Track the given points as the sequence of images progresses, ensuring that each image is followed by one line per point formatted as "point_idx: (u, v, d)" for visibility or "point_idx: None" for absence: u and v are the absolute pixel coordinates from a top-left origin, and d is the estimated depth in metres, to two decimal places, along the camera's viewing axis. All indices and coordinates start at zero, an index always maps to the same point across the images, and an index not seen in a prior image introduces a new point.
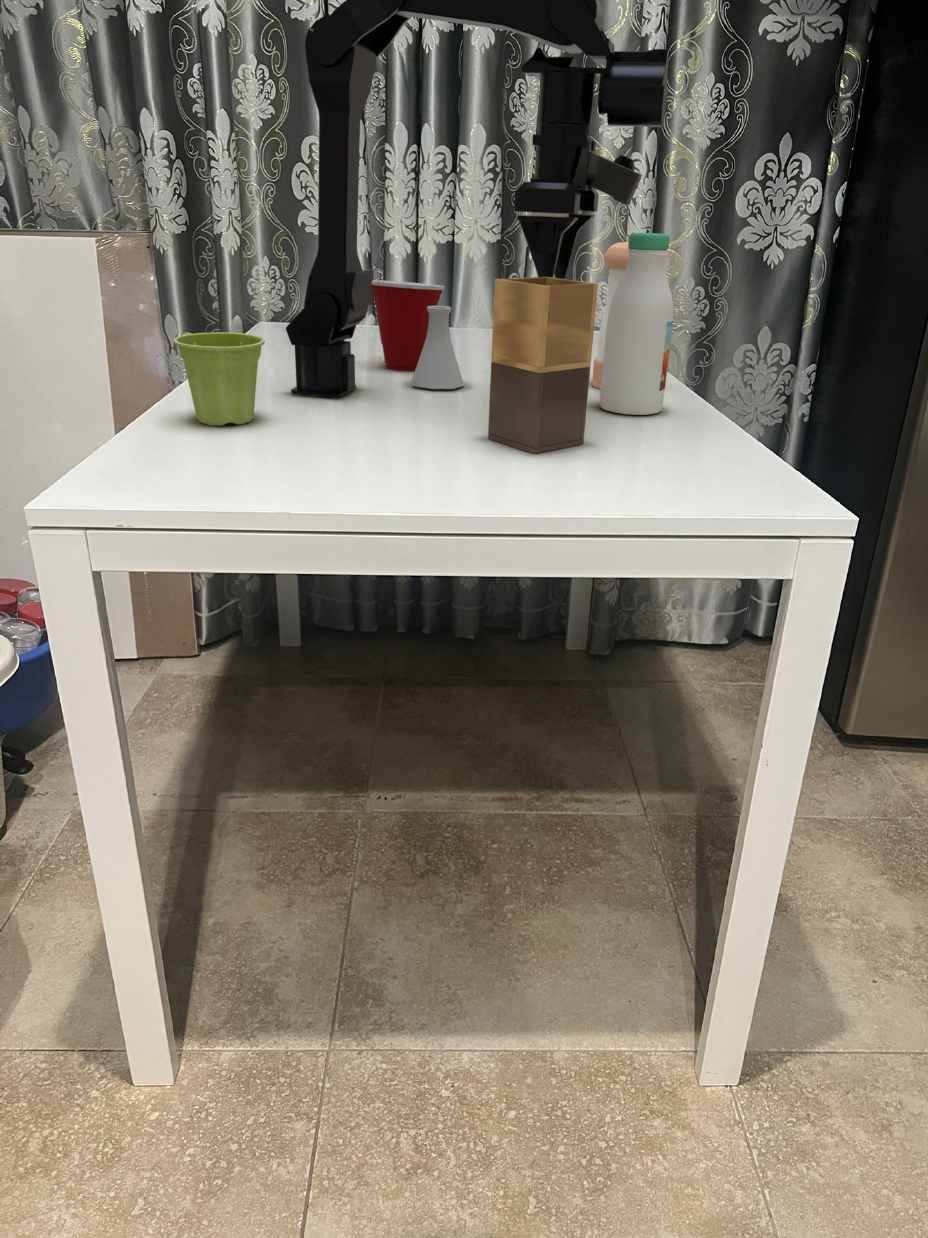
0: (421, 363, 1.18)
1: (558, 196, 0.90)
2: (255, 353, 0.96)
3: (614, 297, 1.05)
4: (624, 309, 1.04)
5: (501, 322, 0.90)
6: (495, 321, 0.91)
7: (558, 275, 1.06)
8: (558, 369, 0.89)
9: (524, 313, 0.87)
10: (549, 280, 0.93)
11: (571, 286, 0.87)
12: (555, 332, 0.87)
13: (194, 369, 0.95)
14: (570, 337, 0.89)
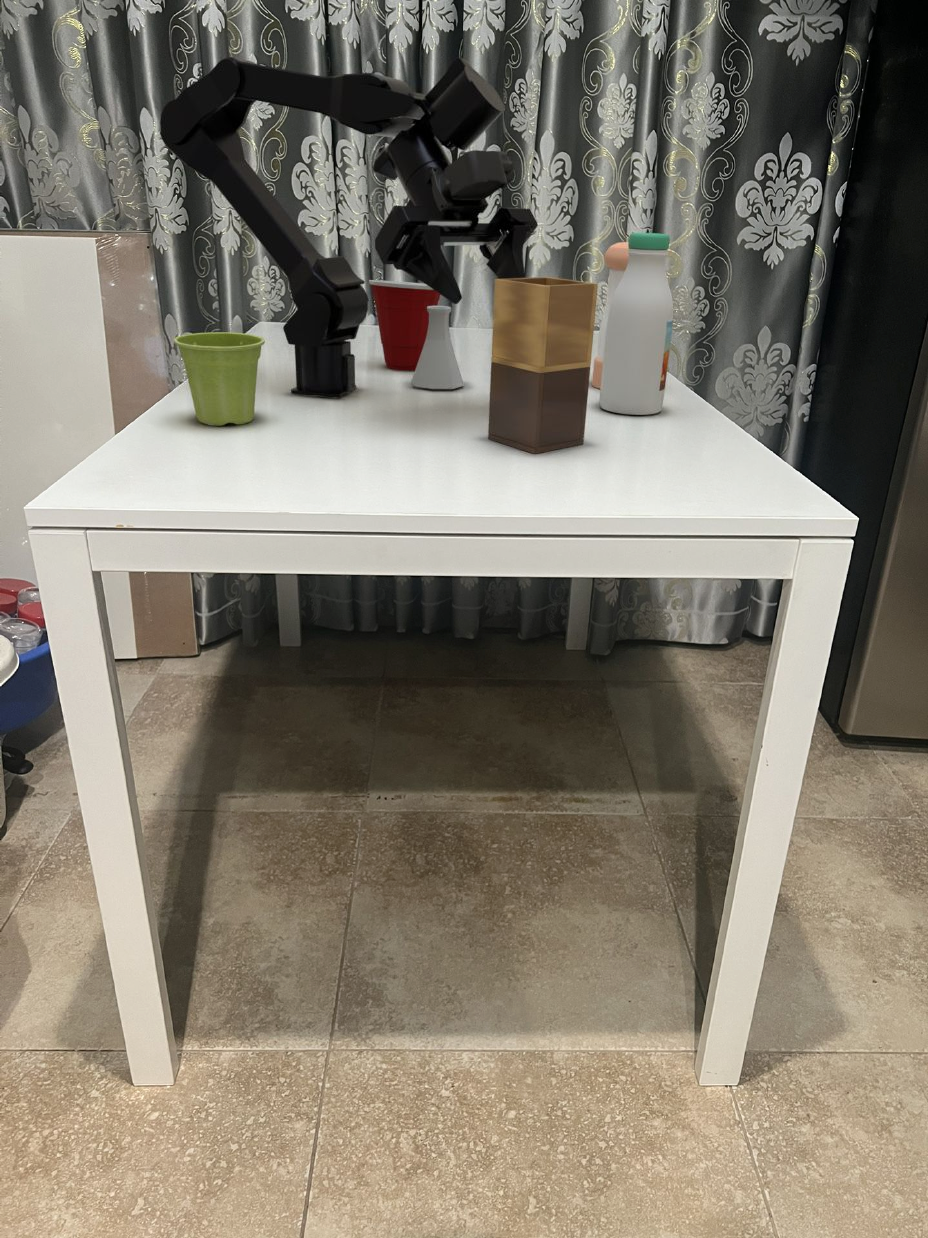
0: (421, 363, 1.18)
1: (391, 220, 0.90)
2: (256, 353, 0.96)
3: (614, 297, 1.05)
4: (624, 309, 1.04)
5: (501, 322, 0.90)
6: (495, 321, 0.91)
7: None
8: (558, 369, 0.89)
9: (524, 313, 0.87)
10: (549, 280, 0.93)
11: (571, 286, 0.87)
12: (555, 332, 0.87)
13: (194, 369, 0.95)
14: (570, 337, 0.89)
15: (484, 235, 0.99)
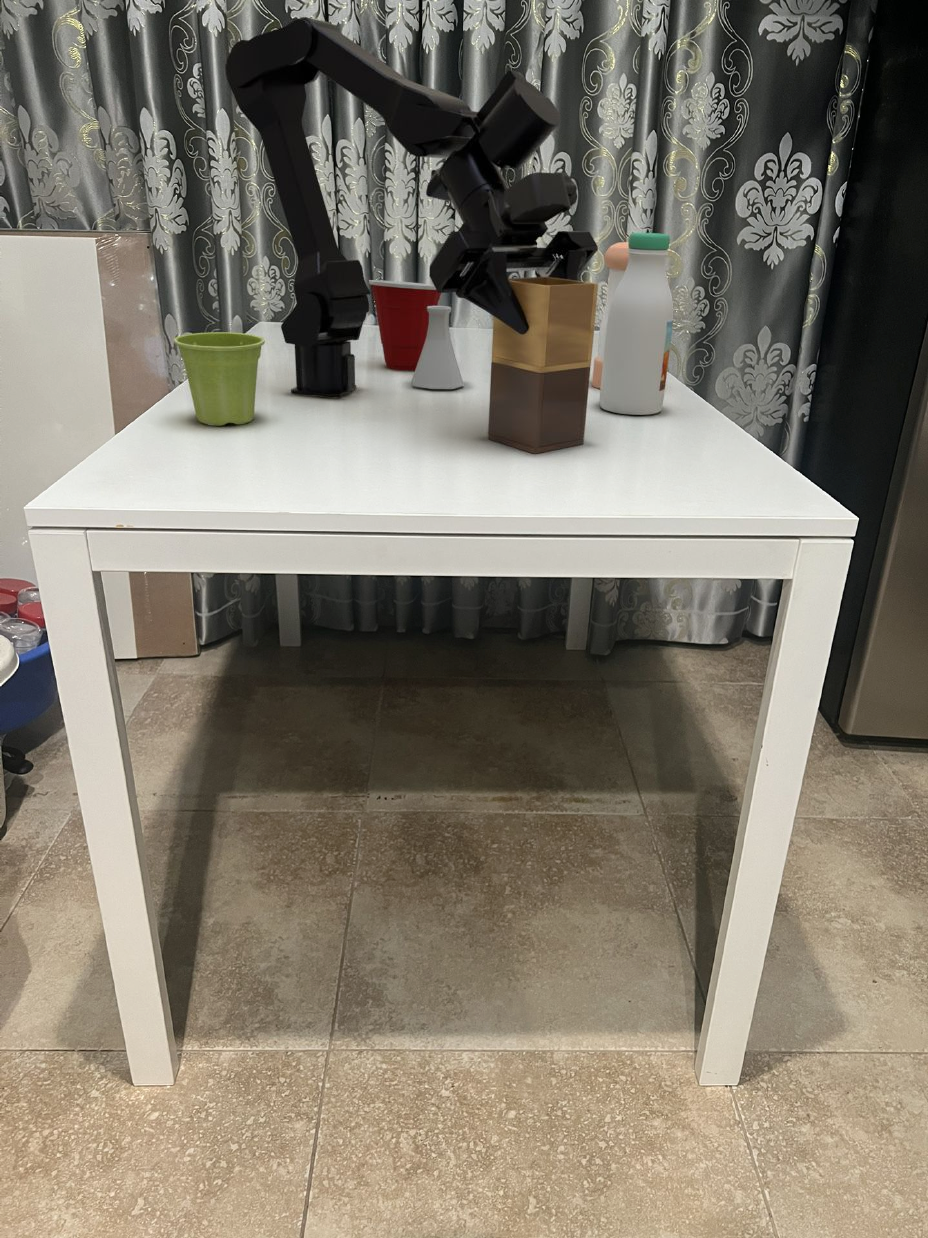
0: (421, 363, 1.18)
1: (448, 247, 0.85)
2: (256, 353, 0.96)
3: (614, 297, 1.05)
4: (624, 309, 1.04)
5: (501, 322, 0.90)
6: (495, 321, 0.91)
7: None
8: (558, 369, 0.89)
9: (525, 312, 0.87)
10: (549, 280, 0.93)
11: (571, 286, 0.87)
12: (555, 332, 0.87)
13: (194, 369, 0.95)
14: (570, 337, 0.89)
15: (542, 260, 0.93)
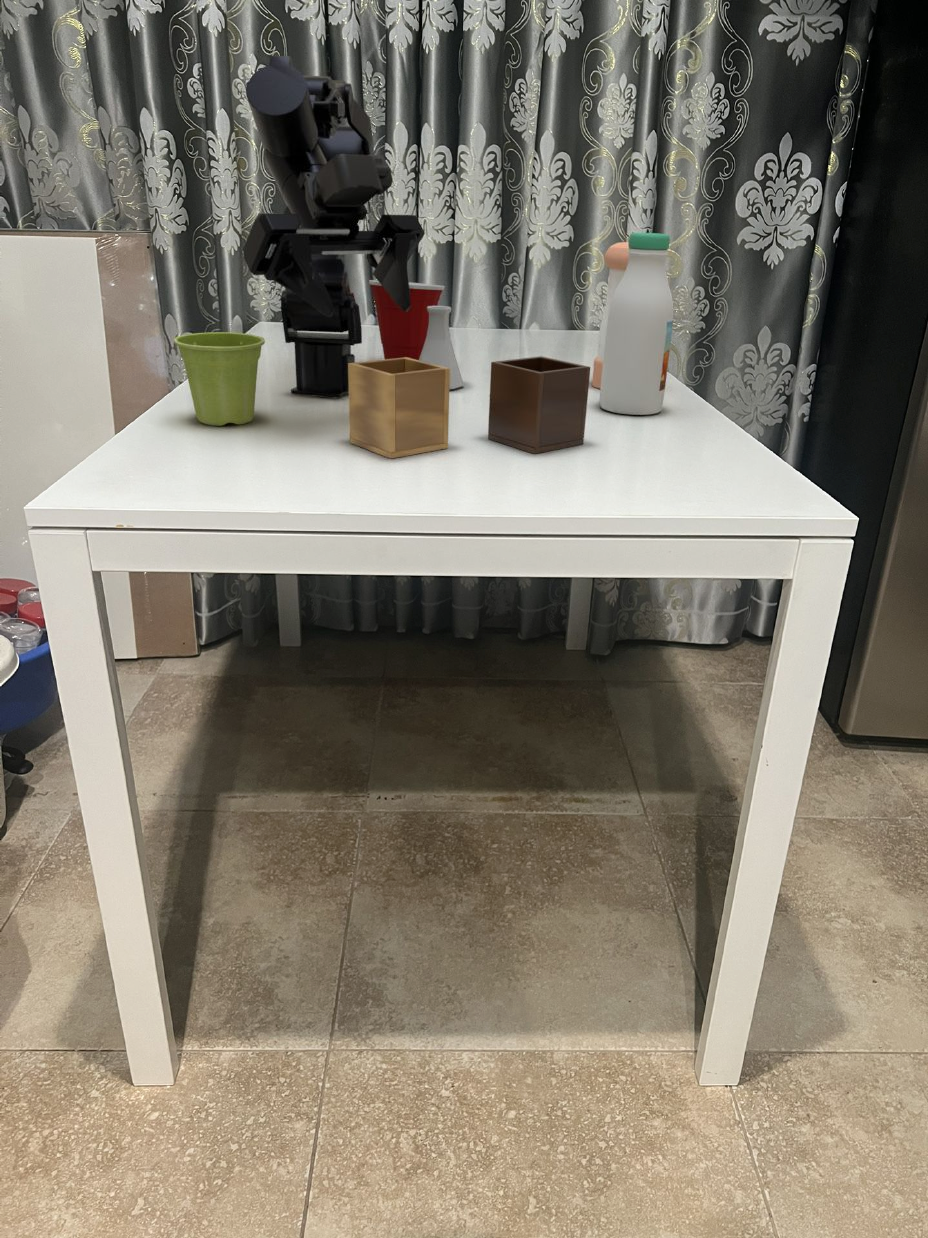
0: None
1: (256, 228, 0.85)
2: (256, 353, 0.96)
3: (614, 297, 1.05)
4: (624, 309, 1.04)
5: (355, 405, 0.90)
6: (350, 404, 0.91)
7: (403, 307, 0.93)
8: (411, 453, 0.89)
9: (374, 399, 0.88)
10: (407, 361, 0.93)
11: (419, 373, 0.87)
12: (405, 418, 0.87)
13: (194, 369, 0.95)
14: (422, 422, 0.89)
15: (366, 243, 0.93)
